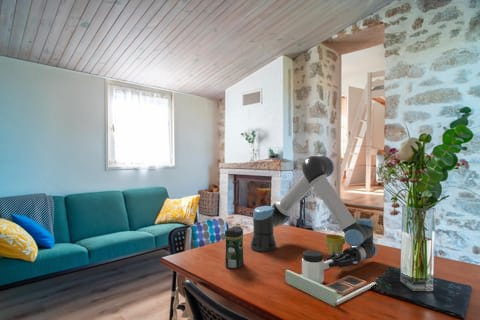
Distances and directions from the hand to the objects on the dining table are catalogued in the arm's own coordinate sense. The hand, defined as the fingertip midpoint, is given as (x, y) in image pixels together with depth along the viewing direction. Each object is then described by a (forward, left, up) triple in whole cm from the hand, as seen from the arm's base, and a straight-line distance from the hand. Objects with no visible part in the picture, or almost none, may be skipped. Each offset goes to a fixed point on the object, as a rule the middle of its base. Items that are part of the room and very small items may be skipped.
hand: (322, 266), depth 121 cm
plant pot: (+11, +34, -6) cm, 36 cm away
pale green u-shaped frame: (+3, -3, -6) cm, 7 cm away
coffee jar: (-40, +11, -6) cm, 42 cm away
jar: (-4, -2, -6) cm, 8 cm away
